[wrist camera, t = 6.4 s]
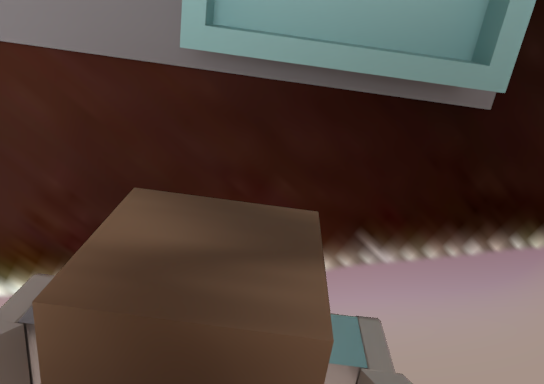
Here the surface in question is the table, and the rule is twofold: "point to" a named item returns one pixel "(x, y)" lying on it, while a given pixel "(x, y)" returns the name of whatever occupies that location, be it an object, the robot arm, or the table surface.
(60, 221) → the table surface
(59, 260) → the table surface
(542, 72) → the table surface
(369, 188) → the table surface
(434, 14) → the cyan square tray
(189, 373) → the walnut block
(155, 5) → the grey rectangular mat
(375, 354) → the robot arm
